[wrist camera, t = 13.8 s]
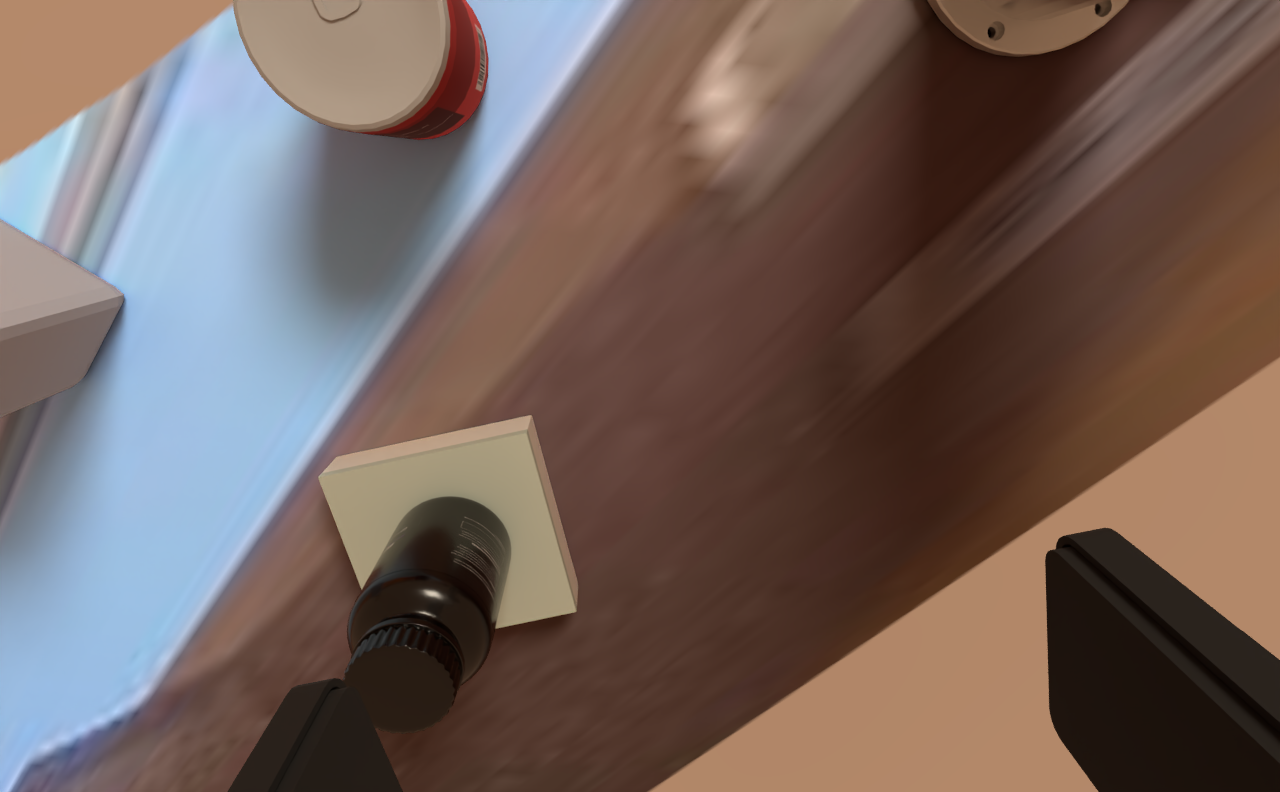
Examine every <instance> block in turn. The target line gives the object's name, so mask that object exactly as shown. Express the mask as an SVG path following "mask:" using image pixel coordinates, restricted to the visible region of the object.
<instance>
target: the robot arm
mask: <svg viewBox="0 0 1280 792" xmlns="http://www.w3.org/2000/svg"><path fill="white" fill-rule="evenodd" d="M927 1H928V3H929V4H930V6H931V7H932V9H933V10H934V12H935V13H936V15H937V16H938V18H939V19H940V21H941V22H942V23H943V24H944V25H945V26H946V27H947V28H948V29H949V30H950V31H951V32H952V33H953V34H954V35H956V36H957V37H958V38H960V39H961V40H963V41H965V42H966V43H968V44H970V45H971V46H973V47H974V48H977V49H980V50H983V51H986V52H989V53H992V54H995V55H1003V56H1013V57H1022V56H1030V55H1039V54H1043V53H1047V52H1050V51H1054V50H1058V49H1062V48H1064V47H1066V46H1069V45H1071V44H1073V43H1076V42H1078V41H1080V40H1083V39H1084V38H1086V37H1087V36H1089V35H1090V34H1092V33H1093V32H1095V31H1096V30H1098V29H1099V28H1101V27H1102V26H1104V25H1105V24H1106V23H1107V22H1108V21H1109V20H1111V19H1112V18H1113V17H1114V16H1115V15H1116V14H1117V13H1118V12H1119V11H1120V10H1121V9H1122V8H1123V7H1124V6H1125V5H1126V4H1127V3H1128V1H1129V0H927ZM1095 10H1096V11H1095ZM988 29H989V30H990V31H991V36H990V38H989V37H988V33H987V32H988ZM1045 564H1046V565H1045V566H1046V600H1047V638H1048V674H1049V709H1050V715H1051V719H1052V722H1053V725H1054V728H1055V730H1056V732H1057V734H1058V736H1059V738H1060V739H1061V741H1062V742H1063V743H1064V745H1065V746H1066V748H1067V749H1068V750H1069V752H1070V753H1071V754H1072V756H1073V757H1074V759H1075V760H1076V761H1077V763H1078V764H1079V765H1080V767H1081V768H1082V770H1083V771H1084V772H1085V774H1086V775H1087V776H1088V778H1089V779H1090V781H1091V782H1092V783H1093V785H1094V786H1095V787H1096V789H1097V790H1098V791H1099V792H1280V660H1279V659H1278V658H1276V657H1275V656H1274V655H1272V654H1271V653H1270V652H1269V651H1267V650H1266V649H1265V648H1264V647H1262V646H1261V645H1260V644H1259V643H1257V642H1256V641H1255V640H1253V639H1252V638H1251V637H1250V636H1248V635H1247V634H1246V633H1245V632H1243V631H1242V630H1240V629H1239V628H1237V627H1236V626H1235V625H1234V624H1232V623H1231V622H1230V621H1228V620H1227V619H1226V618H1225V617H1223V616H1222V615H1221V614H1219V613H1218V612H1217V611H1216V610H1215V609H1213V608H1212V607H1211V606H1210V605H1208V604H1207V603H1206V602H1204V601H1203V600H1202V599H1200V598H1199V597H1198V596H1197V595H1196V594H1194V593H1193V592H1192V591H1191V590H1189V589H1188V588H1187V587H1186V586H1184V585H1183V584H1182V583H1180V582H1179V581H1178V580H1177V579H1175V578H1174V577H1173V576H1171V575H1170V574H1169V573H1168V572H1167V571H1165V570H1164V569H1163V568H1161V567H1160V566H1159V565H1158V564H1156V563H1155V562H1154V561H1153V560H1151V559H1150V558H1149V557H1148V556H1146V555H1145V554H1144V553H1143V552H1141V551H1140V550H1139V549H1138V548H1136V547H1135V546H1134V545H1132V544H1131V543H1130V542H1129V541H1127V540H1126V539H1125V538H1124V537H1122V536H1121V535H1120V534H1118V533H1117V532H1116V531H1114V530H1112V529H1109V528H1102V529H1096V530H1092V531H1086V532H1081V533H1076V534H1071V535H1066V536H1063V537H1061V538H1059V539H1058V542H1057V545H1056V549H1055V550H1050V551H1048V553H1047V554H1046V560H1045ZM228 792H403V791H402V789H401V787H400V784H399V782H398V780H397V778H396V775H395V773H394V771H393V769H392V766H391V764H390V762H389V759H388V757H387V755H386V753H385V750H384V748H383V746H382V744H381V741H380V739H379V737H378V734H377V732H376V730H375V728H374V725H373V723H372V721H371V719H370V716H369V714H368V712H367V710H366V707H365V705H364V703H363V700H362V698H361V696H360V694H359V692H358V690H357V689H356V688H354V687H347V686H346V685H345V683H344V682H343V681H342V680H340V679H336V678H334V679H328V680H323V681H318V682H313V683H308V684H303V685H298V686H296V687H294V688H292V689H291V690H290V691H289V693H288V694H287V695H286V697H285V699H284V700H283V702H282V703H281V705H280V707H279V708H278V710H277V712H276V713H275V715H274V717H273V718H272V720H271V721H270V723H269V725H268V726H267V728H266V730H265V731H264V733H263V735H262V736H261V738H260V739H259V741H258V743H257V744H256V746H255V748H254V749H253V751H252V753H251V754H250V756H249V757H248V759H247V761H246V762H245V764H244V766H243V767H242V769H241V771H240V772H239V774H238V775H237V777H236V779H235V780H234V782H233V784H232V785H231V787H230V789H229V790H228Z"/></svg>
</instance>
